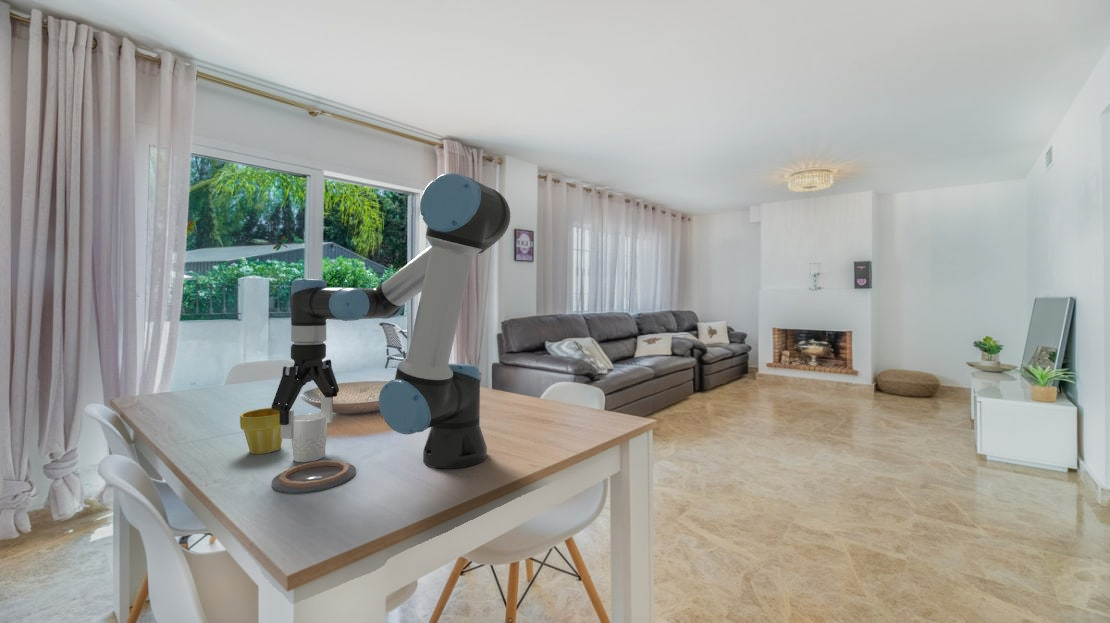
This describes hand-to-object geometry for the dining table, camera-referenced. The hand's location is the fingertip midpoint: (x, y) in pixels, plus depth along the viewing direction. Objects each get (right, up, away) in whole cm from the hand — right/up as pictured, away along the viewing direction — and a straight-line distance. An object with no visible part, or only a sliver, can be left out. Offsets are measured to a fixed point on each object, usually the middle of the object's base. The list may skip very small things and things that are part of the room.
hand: (307, 429), depth 110 cm
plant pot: (-14, -7, +5) cm, 16 cm away
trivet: (+8, -7, -12) cm, 17 cm away
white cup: (0, -7, 0) cm, 7 cm away
